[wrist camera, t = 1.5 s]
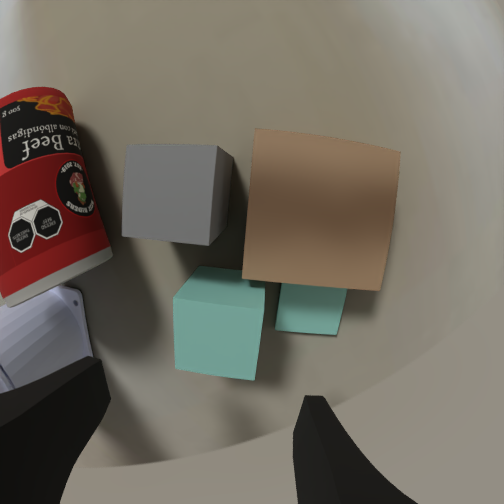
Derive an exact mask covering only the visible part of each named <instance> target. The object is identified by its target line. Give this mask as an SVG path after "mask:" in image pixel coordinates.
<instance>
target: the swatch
mask: <svg viewBox="0 0 504 504" xmlns="http://www.w3.org/2000/svg"><path fill="white" fill-rule="evenodd" d="M347 289H348V288H335V287H323V286H312V285H301V284H290V283H281V289H280V296H279V303H278V310H277V316H276V323H275V330H279V331H290V332H302V333H316V334H332V335H336V334H337V331H338V327H339V323H340V319H341V315H342V310H343V306H344V302H345V298H346V293H347Z"/></svg>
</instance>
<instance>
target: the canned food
mask: <svg viewBox="0 0 504 504" xmlns="http://www.w3.org/2000/svg"><path fill="white" fill-rule="evenodd" d="M112 256H113V254H112V251H111V246H110V243H109V240H108V237H107V235H106V232H105V228H104V225H103V222H102V220H101V217H100V214H99V211H98V208H97V205H96V201H95V198H94V195H93V192H92V188H91V185H90V182H89V178H88V175H87V171H86V167H85V164H84V160H83V156H82V152H81V148H80V143H79V139H78V135H77V130H76V125H75V120H74V115H73V109H72V106H71V104H70V102H69V101H68V99H67V97H66V96H65V94H64V93H62V92H61V91H60V90H57V89H54V88H49V87H32V88H27V89H23V90H19V91H17V92H14V93H11V94H9V95H7V96H5V97H3V98H1V99H0V292H1V295H2V297H3V299H4V301H5V302H6V304H7V307H8V308H11V307H15V306H17V305H19V304H22V303H24V302H26V301H28V300H30V299H32V298H34V297H36V296H38V295H41V294H43V293H45V292H47V291H49V290H51V289H53V288H55V287H57V286H59V285H61V284H63V283H65V282H67V281H69V280H71V279H73V278H75V277H77V276H79V275H81V274H83V273H85V272H87V271H89V270H91V269H92V268H94V267H96V266H98V265H100V264H102V263H104V262H106V261H107V260H109V259H110V258H111V257H112Z"/></svg>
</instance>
